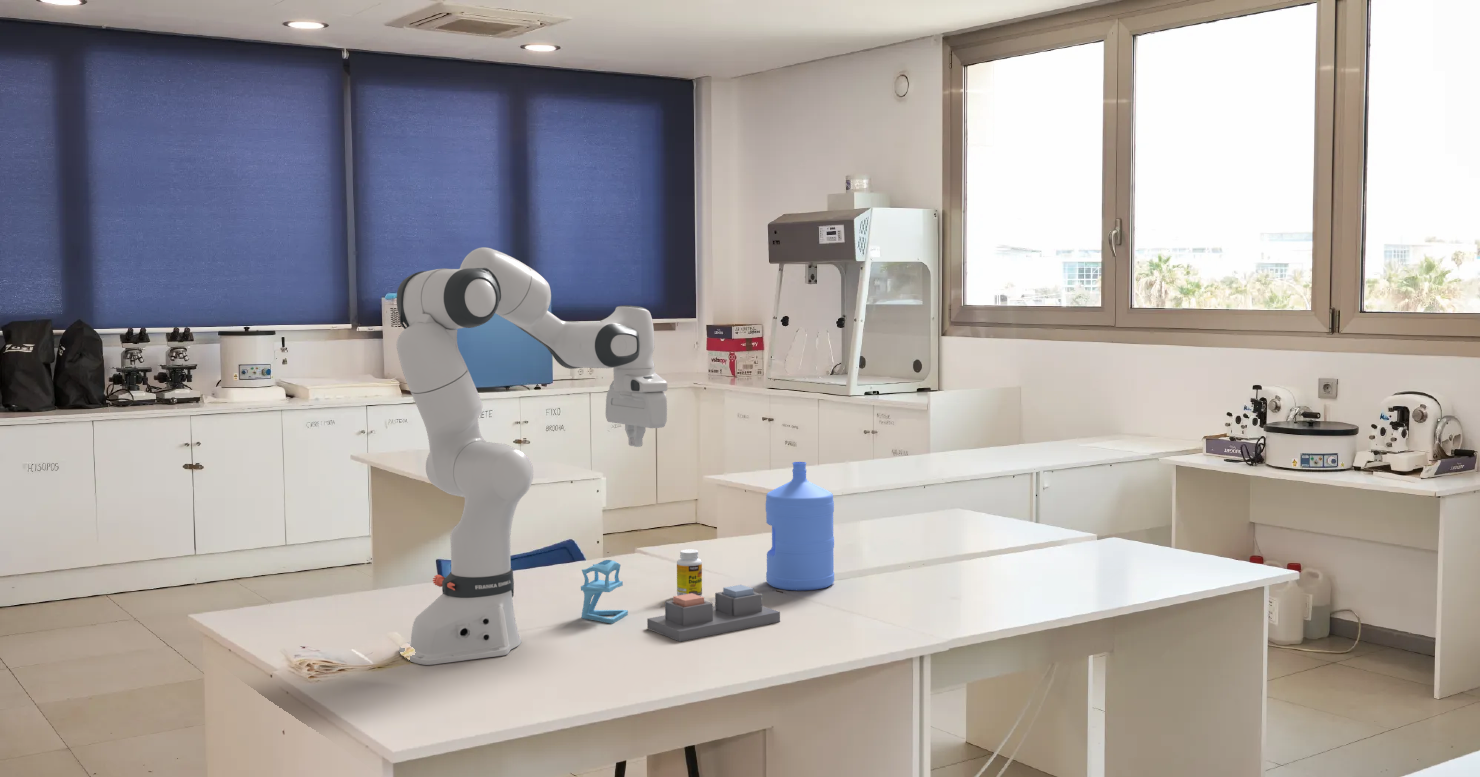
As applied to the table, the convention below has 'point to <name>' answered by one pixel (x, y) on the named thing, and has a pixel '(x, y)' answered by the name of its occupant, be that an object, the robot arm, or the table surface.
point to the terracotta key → (688, 600)
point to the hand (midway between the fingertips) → (635, 446)
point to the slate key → (738, 591)
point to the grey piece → (712, 617)
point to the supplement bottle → (689, 573)
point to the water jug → (800, 534)
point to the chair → (597, 588)
